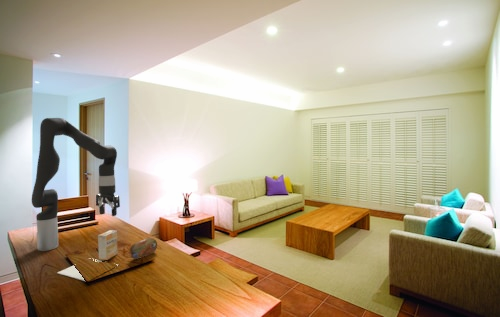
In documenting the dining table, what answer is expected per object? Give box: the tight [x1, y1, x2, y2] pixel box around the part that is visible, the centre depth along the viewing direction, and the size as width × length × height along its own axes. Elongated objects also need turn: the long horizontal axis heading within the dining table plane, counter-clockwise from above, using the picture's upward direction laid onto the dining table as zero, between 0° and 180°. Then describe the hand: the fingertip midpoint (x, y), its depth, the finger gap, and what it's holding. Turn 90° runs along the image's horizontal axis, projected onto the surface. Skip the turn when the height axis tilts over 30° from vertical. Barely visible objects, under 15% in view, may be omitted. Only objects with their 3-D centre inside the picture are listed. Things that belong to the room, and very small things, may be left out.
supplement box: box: [97, 229, 118, 261], centre depth 135 cm, size 8×5×13 cm, turn 168°
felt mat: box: [56, 257, 119, 282], centre depth 122 cm, size 20×16×1 cm
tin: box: [129, 237, 158, 260], centre depth 136 cm, size 15×3×8 cm, turn 147°
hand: (108, 214), depth 134 cm, fingers open, 8 cm apart
